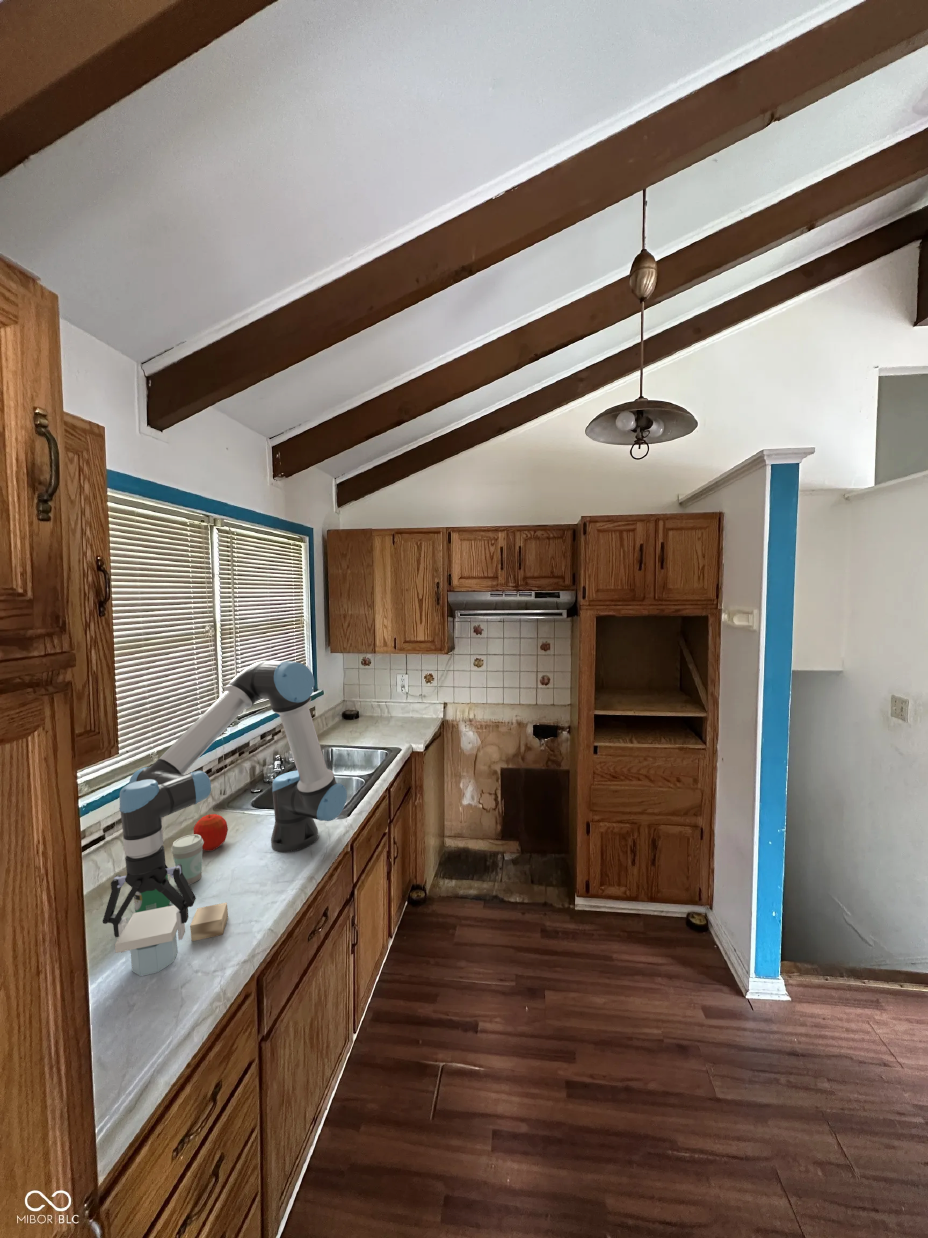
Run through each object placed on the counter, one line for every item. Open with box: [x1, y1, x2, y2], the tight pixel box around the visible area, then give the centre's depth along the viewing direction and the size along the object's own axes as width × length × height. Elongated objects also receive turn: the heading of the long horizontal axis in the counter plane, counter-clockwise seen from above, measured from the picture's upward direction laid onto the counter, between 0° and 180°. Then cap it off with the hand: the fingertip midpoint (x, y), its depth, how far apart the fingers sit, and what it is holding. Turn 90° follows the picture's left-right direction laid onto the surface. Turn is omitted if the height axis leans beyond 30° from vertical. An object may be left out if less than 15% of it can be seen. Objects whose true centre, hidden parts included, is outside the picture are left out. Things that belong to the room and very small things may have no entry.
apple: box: [193, 813, 229, 852], centre depth 168 cm, size 10×10×12 cm
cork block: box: [189, 902, 229, 942], centre depth 126 cm, size 7×7×4 cm
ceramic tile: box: [114, 904, 178, 954], centre depth 115 cm, size 11×11×2 cm
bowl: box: [129, 933, 179, 977], centre depth 115 cm, size 8×8×6 cm
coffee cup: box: [170, 833, 204, 885], centre depth 149 cm, size 9×8×12 cm
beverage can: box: [133, 874, 171, 913], centre depth 135 cm, size 8×8×12 cm
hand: (153, 942), depth 115 cm, fingers closed on ceramic tile, 11 cm apart
